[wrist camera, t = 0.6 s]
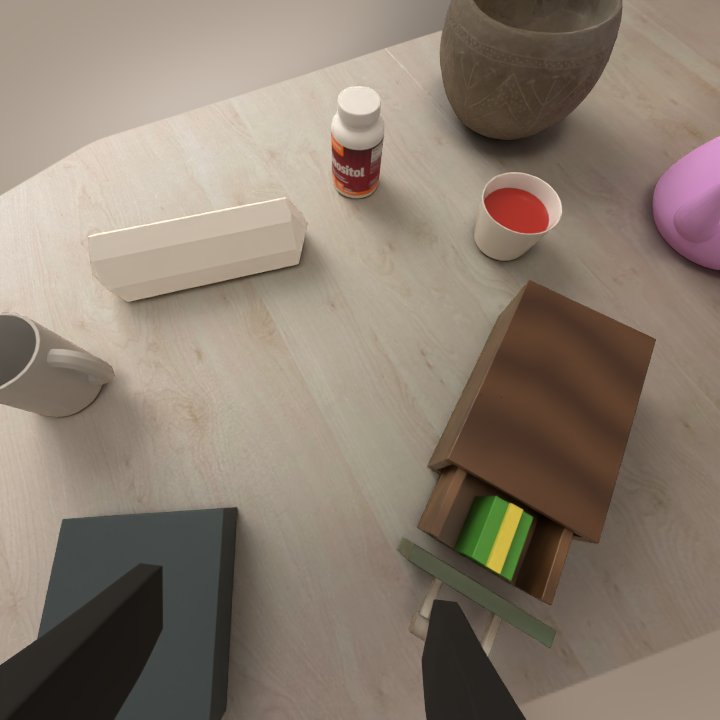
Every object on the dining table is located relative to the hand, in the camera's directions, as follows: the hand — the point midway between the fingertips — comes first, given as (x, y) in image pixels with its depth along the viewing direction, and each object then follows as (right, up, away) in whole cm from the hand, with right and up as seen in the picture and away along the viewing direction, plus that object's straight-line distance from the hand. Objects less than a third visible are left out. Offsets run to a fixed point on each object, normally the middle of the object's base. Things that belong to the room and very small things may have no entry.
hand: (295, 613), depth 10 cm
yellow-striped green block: (+12, -9, +23) cm, 27 cm away
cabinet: (+19, +1, +29) cm, 34 cm away
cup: (-27, +4, +28) cm, 40 cm away
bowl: (+22, +44, +46) cm, 67 cm away
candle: (+20, +22, +37) cm, 48 cm away
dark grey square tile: (-16, -14, +22) cm, 30 cm away
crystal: (-16, +19, +34) cm, 42 cm away
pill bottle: (+1, +31, +40) cm, 50 cm away
